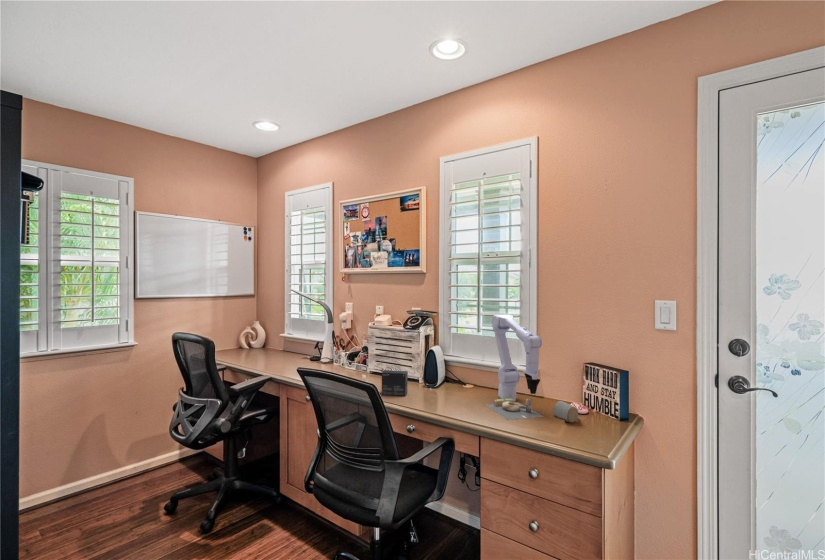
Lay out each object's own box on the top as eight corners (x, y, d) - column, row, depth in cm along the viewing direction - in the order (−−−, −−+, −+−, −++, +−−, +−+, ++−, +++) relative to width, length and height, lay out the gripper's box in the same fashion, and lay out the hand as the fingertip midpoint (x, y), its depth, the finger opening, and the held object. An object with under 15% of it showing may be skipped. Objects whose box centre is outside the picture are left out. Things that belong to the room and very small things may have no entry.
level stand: (484, 407, 192) (484, 399, 192) (518, 405, 197) (518, 396, 197) (507, 423, 171) (507, 413, 171) (544, 420, 176) (544, 410, 176)
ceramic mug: (568, 425, 170) (568, 406, 170) (552, 419, 177) (553, 401, 177) (584, 421, 176) (584, 403, 176) (568, 415, 183) (568, 398, 183)
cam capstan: (500, 409, 185) (500, 397, 185) (505, 404, 191) (505, 393, 192) (529, 414, 178) (529, 402, 178) (533, 409, 185) (533, 397, 185)
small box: (407, 393, 216) (408, 370, 216) (405, 396, 209) (406, 373, 209) (383, 391, 218) (384, 369, 218) (381, 395, 211) (381, 372, 211)
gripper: (521, 358, 194) (520, 386, 194) (525, 364, 179) (524, 395, 179) (536, 359, 193) (535, 387, 193) (541, 365, 178) (541, 396, 178)
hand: (531, 391), depth 186 cm, fingers open, 7 cm apart
